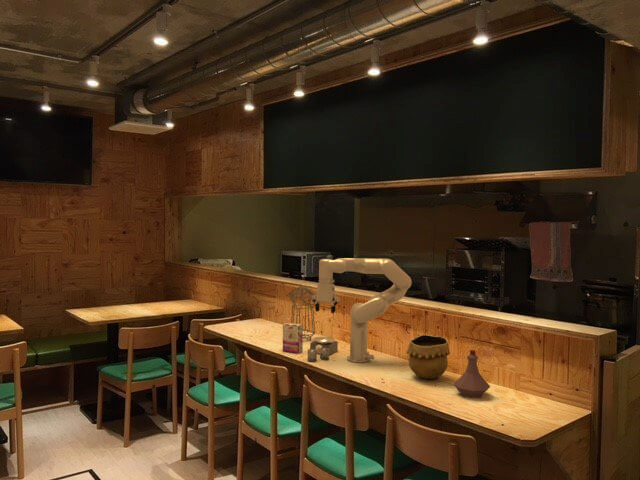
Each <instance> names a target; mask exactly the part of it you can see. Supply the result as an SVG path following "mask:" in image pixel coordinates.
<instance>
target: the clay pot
mask: <svg viewBox="0 0 640 480" xmlns="http://www.w3.org/2000/svg"><path fill="white" fill-rule="evenodd" d="M405 352H406V354H408V366H409V367H410V369H411V371H412V372H413V373H414V374H415V375H416V376H417V377H420V378H422V379H424V380H435V379H437V378H440V377H441V376H442V375H444V373H445V372H446V370H447V369H448V364H449V363H448V362H449V361H448V356H449V355H450V354H451V353H450V352H451V351H450V347H449V341H448V339H447V338H446V337H443V336H441V335H438V336H437V335H436V336H435V335H431V334H430V335H429V334H420V335H419V336H416V337H415V338H413V339H411V340H410V341H409V344H408V348H407V350H406V351H405Z"/></svg>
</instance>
